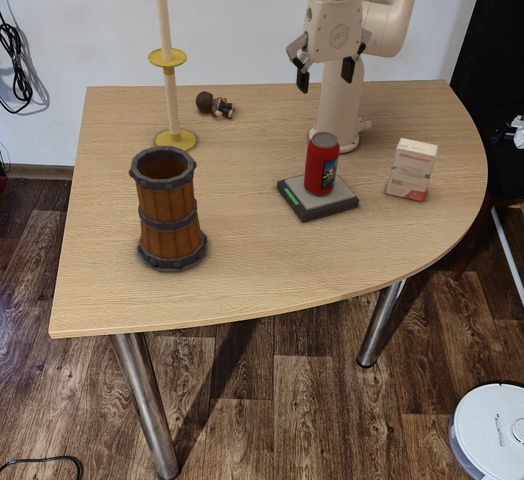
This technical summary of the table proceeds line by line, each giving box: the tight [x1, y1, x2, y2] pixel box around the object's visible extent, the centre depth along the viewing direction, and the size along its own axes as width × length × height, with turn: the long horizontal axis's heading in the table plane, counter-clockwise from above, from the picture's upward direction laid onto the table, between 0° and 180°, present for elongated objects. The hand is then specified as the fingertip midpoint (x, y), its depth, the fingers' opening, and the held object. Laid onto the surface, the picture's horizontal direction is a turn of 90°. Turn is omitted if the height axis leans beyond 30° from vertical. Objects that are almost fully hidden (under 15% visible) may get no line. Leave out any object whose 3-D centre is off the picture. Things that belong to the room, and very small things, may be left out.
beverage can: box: [304, 132, 340, 195], centre depth 118 cm, size 7×7×12 cm
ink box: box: [385, 137, 439, 202], centre depth 123 cm, size 9×5×12 cm, turn 71°
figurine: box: [195, 90, 236, 119], centre depth 144 cm, size 8×5×10 cm
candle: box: [147, 0, 197, 152], centre depth 122 cm, size 10×10×38 cm
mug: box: [128, 145, 209, 273], centre depth 107 cm, size 19×14×20 cm
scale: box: [276, 173, 360, 223], centre depth 124 cm, size 14×13×3 cm
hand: (324, 85), depth 106 cm, fingers open, 9 cm apart
